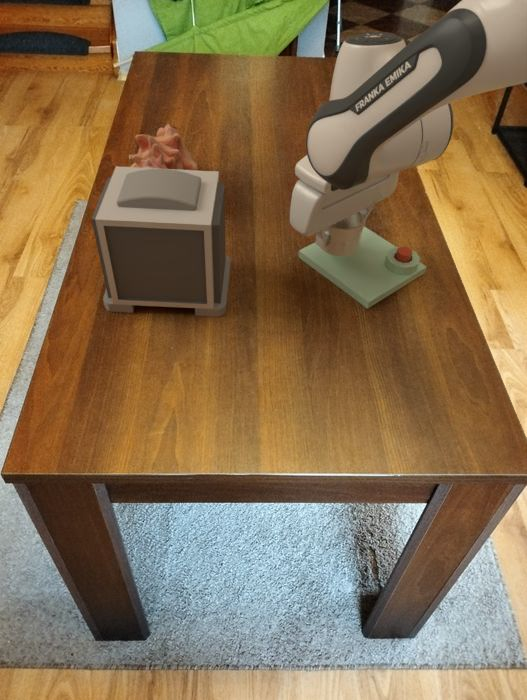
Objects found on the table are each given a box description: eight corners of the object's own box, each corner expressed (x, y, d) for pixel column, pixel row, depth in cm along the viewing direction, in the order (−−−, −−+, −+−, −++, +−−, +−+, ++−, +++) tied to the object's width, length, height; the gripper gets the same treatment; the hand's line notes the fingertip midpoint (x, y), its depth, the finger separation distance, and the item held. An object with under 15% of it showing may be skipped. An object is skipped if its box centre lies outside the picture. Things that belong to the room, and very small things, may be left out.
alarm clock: (231, 261, 95) (230, 160, 81) (225, 317, 86) (223, 213, 72) (120, 256, 95) (101, 153, 81) (103, 311, 86) (78, 206, 72)
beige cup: (367, 246, 93) (372, 220, 89) (338, 261, 90) (343, 235, 86) (338, 227, 96) (342, 201, 92) (310, 241, 93) (313, 215, 89)
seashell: (225, 209, 99) (161, 155, 88) (170, 250, 105) (105, 203, 94) (215, 135, 111) (158, 80, 101) (167, 175, 117) (109, 127, 107)
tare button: (413, 259, 93) (415, 251, 92) (403, 265, 92) (405, 257, 91) (401, 252, 94) (404, 244, 93) (392, 257, 93) (394, 250, 92)
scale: (424, 273, 95) (429, 259, 93) (367, 308, 88) (370, 294, 86) (355, 227, 103) (357, 213, 101) (297, 257, 96) (299, 242, 94)
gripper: (385, 127, 88) (369, 204, 98) (286, 168, 78) (280, 249, 89) (417, 143, 85) (397, 222, 95) (317, 188, 75) (307, 270, 85)
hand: (340, 235), depth 92 cm, fingers closed on beige cup, 6 cm apart
